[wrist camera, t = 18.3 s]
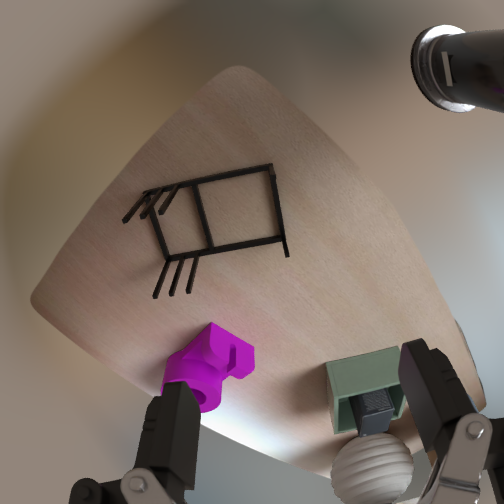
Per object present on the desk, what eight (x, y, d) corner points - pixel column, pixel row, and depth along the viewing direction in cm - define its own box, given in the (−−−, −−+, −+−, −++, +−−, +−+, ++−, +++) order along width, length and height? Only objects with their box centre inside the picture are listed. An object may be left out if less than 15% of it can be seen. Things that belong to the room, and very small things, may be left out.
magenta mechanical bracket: (202, 392, 57) (199, 419, 51) (157, 369, 54) (150, 396, 48) (257, 348, 51) (258, 378, 46) (207, 319, 48) (203, 349, 43)
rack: (272, 162, 37) (279, 185, 29) (285, 238, 42) (294, 276, 34) (144, 190, 38) (119, 219, 30) (167, 259, 43) (151, 300, 35)
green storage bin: (397, 345, 52) (412, 377, 46) (390, 388, 59) (400, 417, 52) (325, 362, 53) (333, 397, 47) (327, 403, 60) (334, 434, 53)
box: (374, 388, 57) (388, 431, 48) (347, 394, 57) (358, 438, 48) (378, 363, 53) (395, 409, 44) (348, 370, 54) (362, 417, 44)
